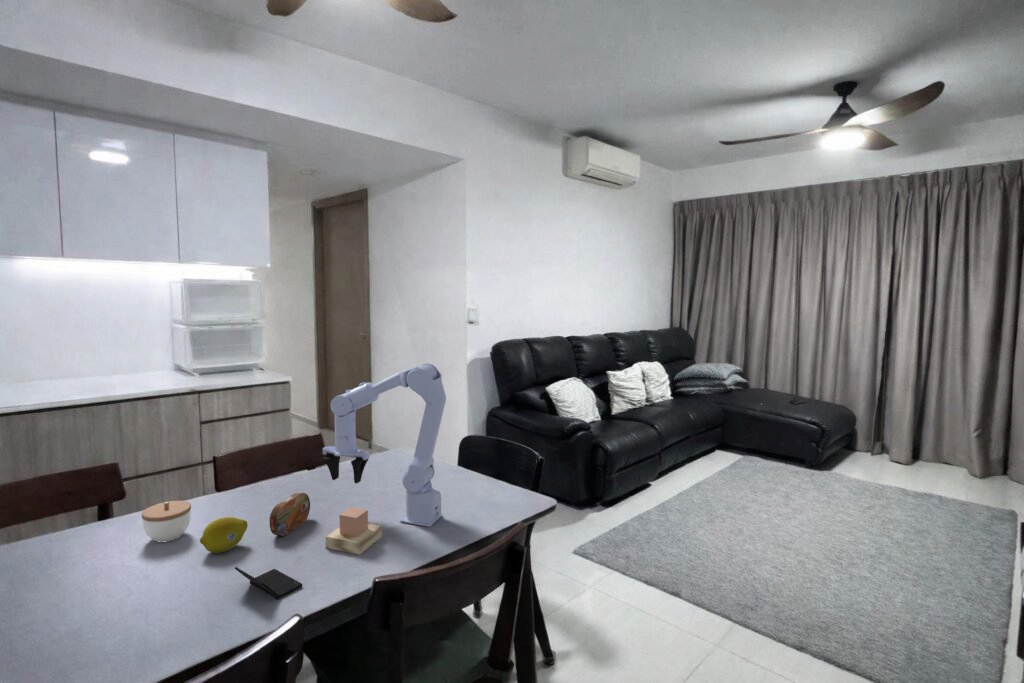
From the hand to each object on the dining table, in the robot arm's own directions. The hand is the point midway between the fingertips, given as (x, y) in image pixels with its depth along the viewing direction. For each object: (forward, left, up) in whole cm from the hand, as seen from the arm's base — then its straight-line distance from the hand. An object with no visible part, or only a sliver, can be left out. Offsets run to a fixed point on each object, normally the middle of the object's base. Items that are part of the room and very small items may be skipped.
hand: (346, 480), depth 154 cm
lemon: (+15, +29, -10) cm, 34 cm away
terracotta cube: (-13, +15, -6) cm, 21 cm away
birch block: (-13, +15, -9) cm, 22 cm away
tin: (+8, +14, -10) cm, 19 cm away
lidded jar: (+34, +29, -10) cm, 46 cm away
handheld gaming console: (-8, +39, -10) cm, 41 cm away
